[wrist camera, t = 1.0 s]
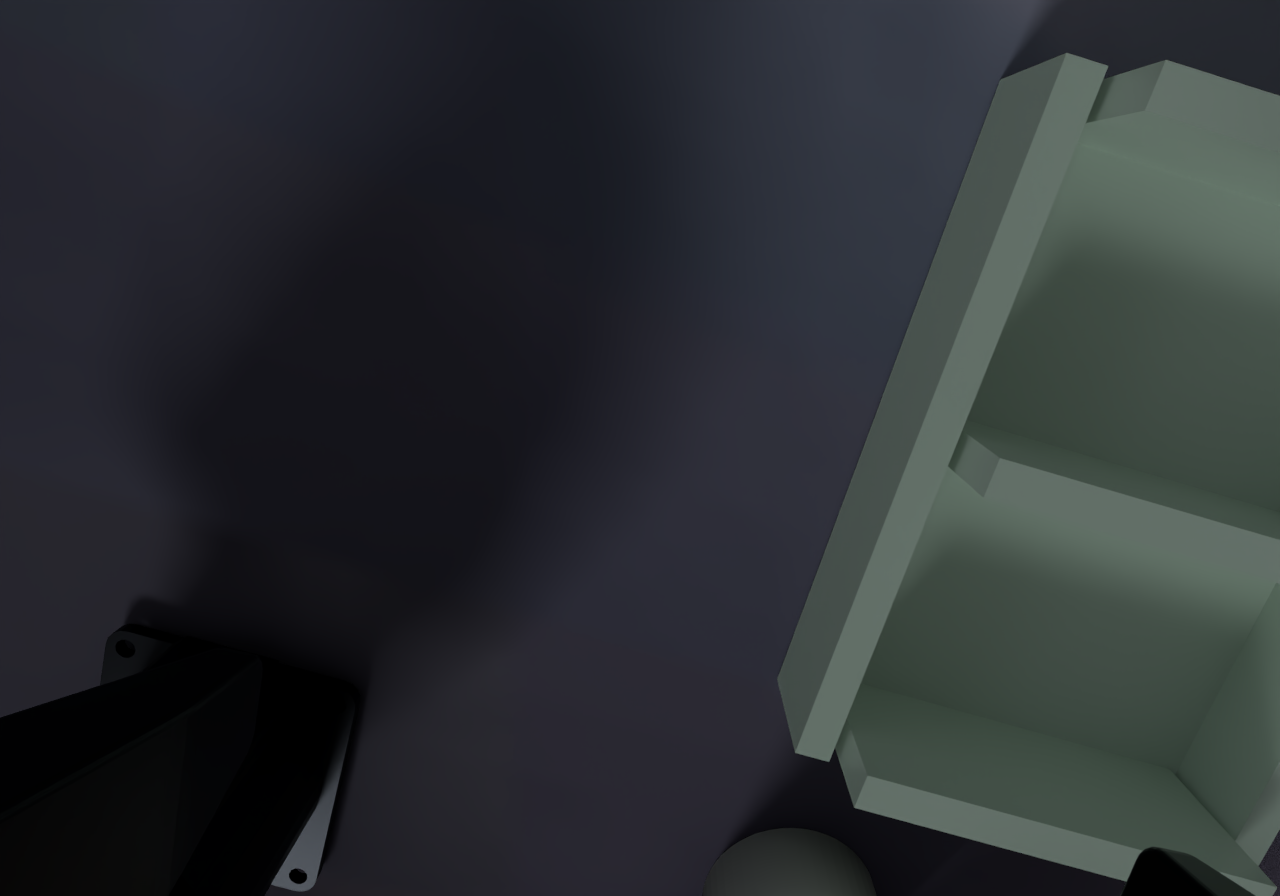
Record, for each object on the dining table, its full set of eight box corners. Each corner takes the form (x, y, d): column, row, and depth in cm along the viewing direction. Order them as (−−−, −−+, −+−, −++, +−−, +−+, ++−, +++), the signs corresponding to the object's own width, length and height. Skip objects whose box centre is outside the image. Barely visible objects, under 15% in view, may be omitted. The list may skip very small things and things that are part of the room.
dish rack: (1173, 788, 23) (1301, 933, 18) (777, 678, 22) (806, 798, 18) (1469, 227, 19) (1725, 231, 15) (1000, 79, 19) (1111, 35, 14)
